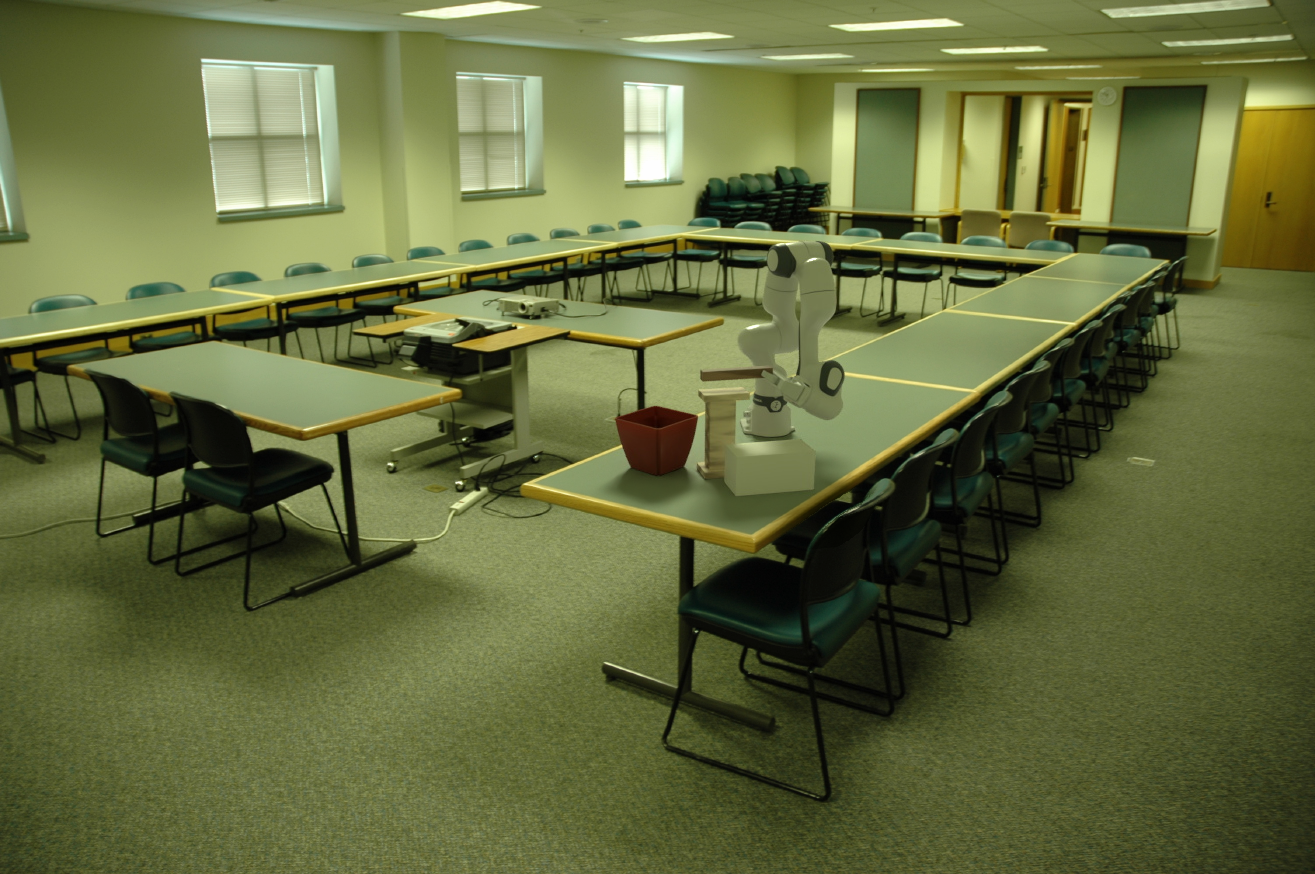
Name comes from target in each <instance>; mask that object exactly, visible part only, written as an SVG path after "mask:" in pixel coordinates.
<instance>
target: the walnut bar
mask: <svg viewBox="0 0 1315 874" xmlns="http://www.w3.org/2000/svg"><path fill="white" fill-rule="evenodd" d="M762 370H765V371H767V372H768V373H770V374H773V367H771V366H753V365H752V366H737V367H720V368H703V369H700V371H699V375H700V376H699V379H700V380H701V381H702V382H704V383H705V382H720V381H735V380H736V381H737V380H751V379H754V380H755V378H765V377H763V376H761V375H760V373H761V371H762Z"/></svg>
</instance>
